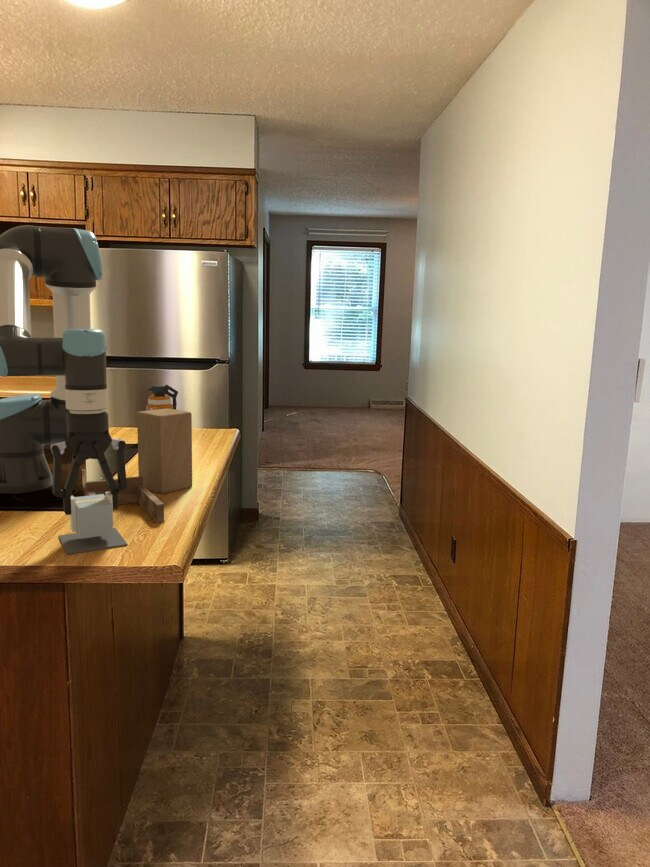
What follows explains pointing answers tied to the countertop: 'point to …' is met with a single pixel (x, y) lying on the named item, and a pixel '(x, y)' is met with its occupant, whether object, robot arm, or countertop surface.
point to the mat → (91, 542)
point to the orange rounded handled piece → (161, 398)
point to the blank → (93, 516)
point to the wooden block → (165, 449)
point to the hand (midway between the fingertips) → (92, 527)
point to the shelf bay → (130, 495)
